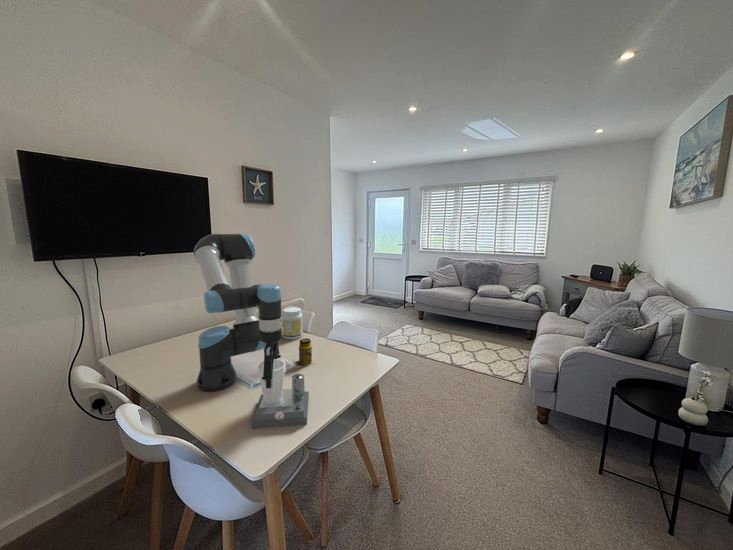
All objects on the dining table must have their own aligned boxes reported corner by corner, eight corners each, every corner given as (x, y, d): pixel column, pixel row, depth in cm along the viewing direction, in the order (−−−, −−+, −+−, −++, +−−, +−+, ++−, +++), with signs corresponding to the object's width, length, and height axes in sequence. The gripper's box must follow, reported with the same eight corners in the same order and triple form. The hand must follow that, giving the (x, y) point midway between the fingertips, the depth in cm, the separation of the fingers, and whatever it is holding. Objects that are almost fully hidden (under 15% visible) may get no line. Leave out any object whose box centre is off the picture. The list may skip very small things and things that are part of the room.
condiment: (314, 364, 143) (314, 341, 141) (298, 368, 139) (297, 344, 137) (308, 358, 149) (308, 336, 147) (292, 362, 145) (292, 339, 143)
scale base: (251, 428, 98) (251, 413, 97) (261, 400, 113) (260, 387, 112) (306, 424, 100) (306, 409, 99) (308, 397, 116) (308, 384, 115)
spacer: (291, 400, 106) (291, 380, 105) (292, 393, 110) (292, 373, 109) (304, 399, 107) (303, 379, 105) (304, 392, 111) (304, 373, 110)
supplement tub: (287, 331, 185) (286, 306, 182) (305, 333, 184) (305, 307, 181) (279, 339, 173) (278, 311, 170) (298, 340, 172) (298, 313, 169)
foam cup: (291, 395, 110) (291, 362, 107) (274, 408, 101) (273, 373, 99) (272, 388, 114) (270, 357, 111) (253, 401, 105) (252, 367, 103)
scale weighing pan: (258, 412, 102) (258, 408, 101) (264, 394, 112) (264, 390, 112) (303, 408, 104) (302, 405, 104) (304, 391, 115) (304, 388, 114)
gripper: (276, 342, 91) (278, 404, 95) (285, 317, 116) (287, 367, 119) (251, 343, 90) (254, 406, 94) (265, 318, 114) (267, 368, 118)
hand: (272, 384), depth 107 cm, fingers open, 13 cm apart
